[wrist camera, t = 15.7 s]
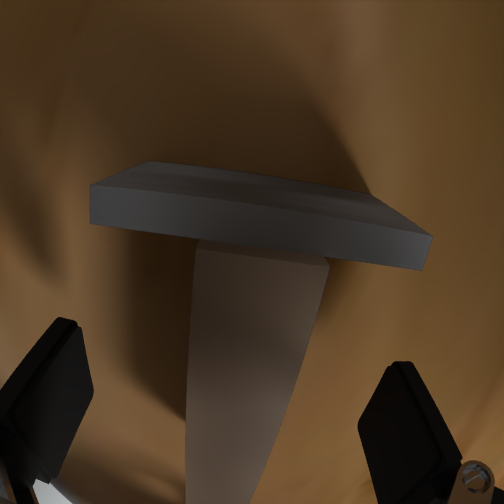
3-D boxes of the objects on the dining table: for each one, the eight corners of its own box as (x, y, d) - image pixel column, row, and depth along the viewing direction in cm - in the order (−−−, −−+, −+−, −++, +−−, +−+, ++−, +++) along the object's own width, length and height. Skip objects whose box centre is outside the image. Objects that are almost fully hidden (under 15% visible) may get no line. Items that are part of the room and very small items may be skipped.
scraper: (371, 194, 10) (444, 244, 6) (291, 437, 14) (299, 513, 10) (149, 160, 9) (77, 190, 5) (150, 420, 14) (130, 495, 10)
